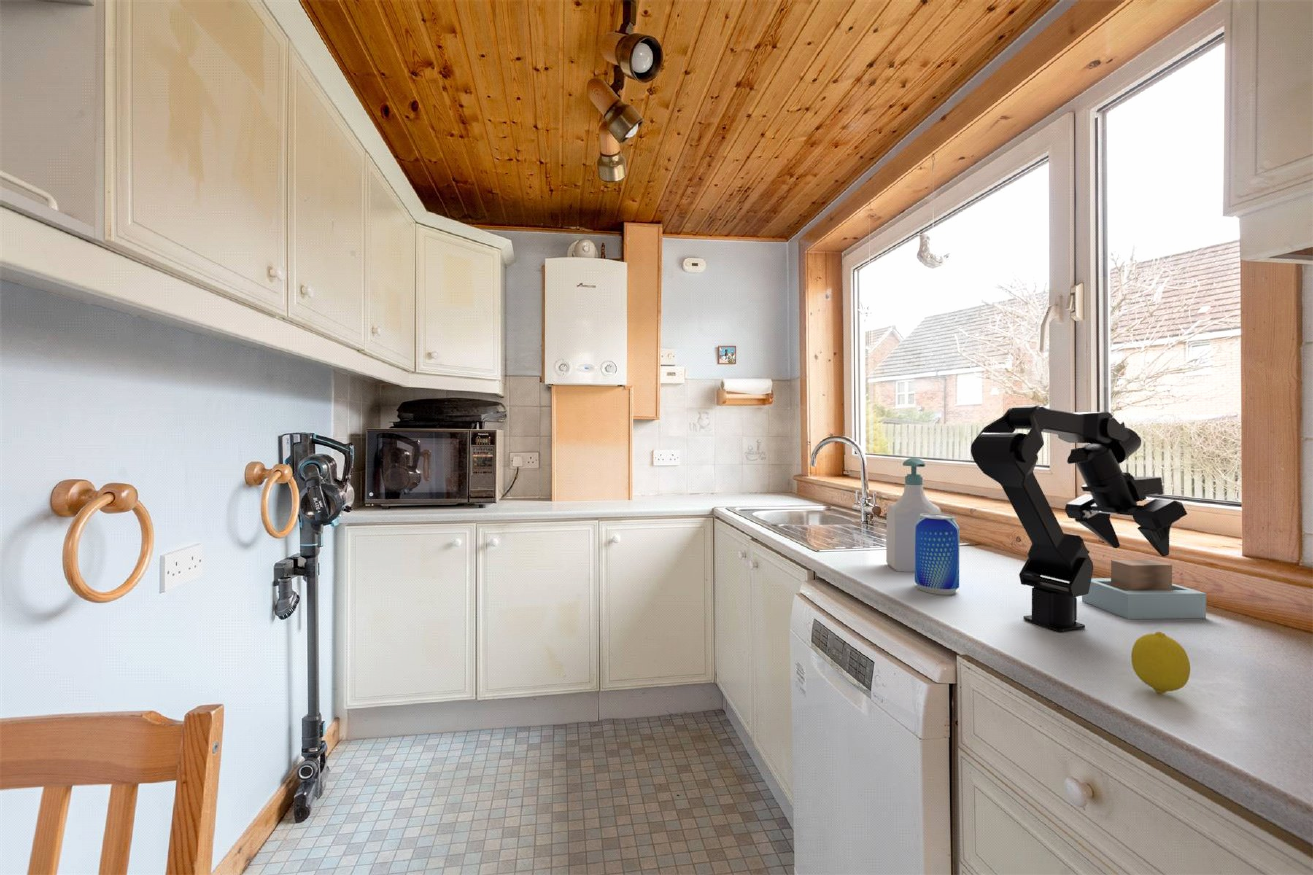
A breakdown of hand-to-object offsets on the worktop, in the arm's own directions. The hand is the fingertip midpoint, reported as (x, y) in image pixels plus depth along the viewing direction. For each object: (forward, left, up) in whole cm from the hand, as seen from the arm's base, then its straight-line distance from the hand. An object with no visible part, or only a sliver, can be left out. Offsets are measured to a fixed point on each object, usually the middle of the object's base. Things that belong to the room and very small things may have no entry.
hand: (1140, 551), depth 97 cm
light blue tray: (+3, +2, -12) cm, 12 cm away
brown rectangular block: (+3, +2, -12) cm, 12 cm away
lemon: (-31, -21, -12) cm, 40 cm away
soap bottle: (-16, +38, -12) cm, 43 cm away
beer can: (-24, +23, -12) cm, 35 cm away
